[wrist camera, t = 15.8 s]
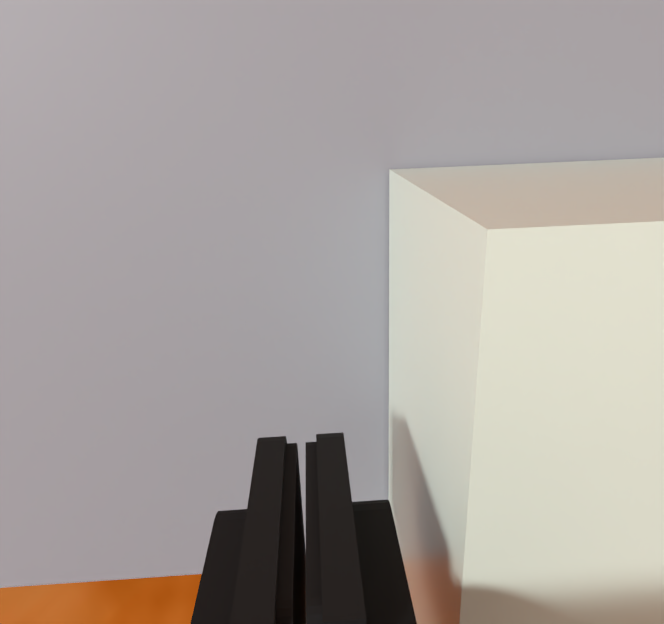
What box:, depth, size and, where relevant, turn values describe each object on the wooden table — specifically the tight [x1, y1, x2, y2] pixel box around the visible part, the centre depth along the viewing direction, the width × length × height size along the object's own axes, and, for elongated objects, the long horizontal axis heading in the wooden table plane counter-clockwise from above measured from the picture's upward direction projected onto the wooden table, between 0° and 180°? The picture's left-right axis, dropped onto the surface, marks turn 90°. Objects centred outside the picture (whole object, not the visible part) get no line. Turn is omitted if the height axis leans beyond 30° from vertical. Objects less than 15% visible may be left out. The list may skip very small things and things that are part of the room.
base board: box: [0, 0, 664, 588], centre depth 13 cm, size 16×23×3 cm
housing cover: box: [388, 158, 664, 624], centre depth 11 cm, size 12×8×7 cm
